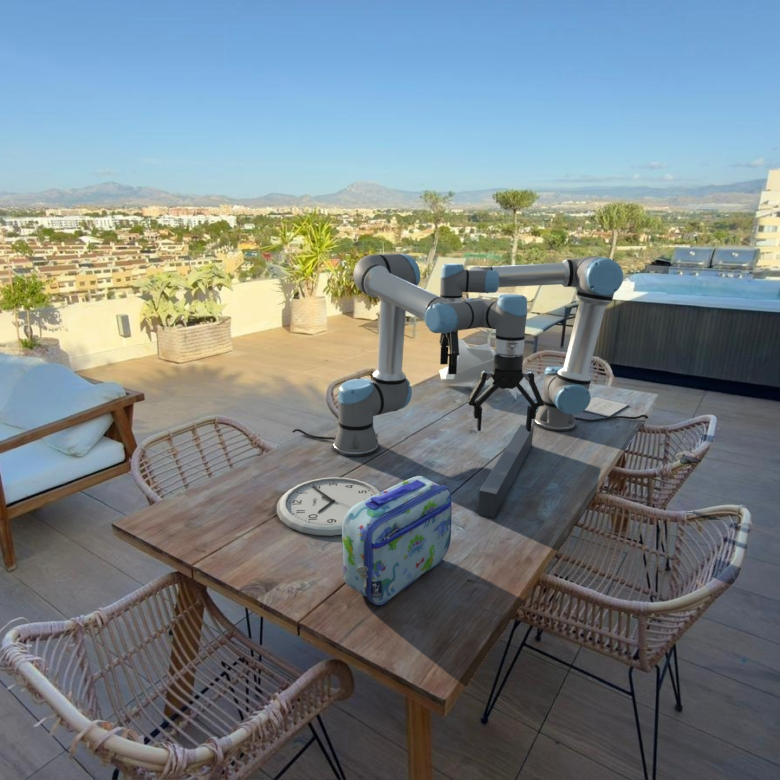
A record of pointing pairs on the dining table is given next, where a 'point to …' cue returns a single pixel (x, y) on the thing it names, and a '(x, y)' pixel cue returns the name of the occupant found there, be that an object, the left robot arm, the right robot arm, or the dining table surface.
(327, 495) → the wall clock
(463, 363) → the white plastic object
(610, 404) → the invitation card
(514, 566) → the dining table surface
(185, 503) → the dining table surface
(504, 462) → the plank
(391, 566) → the lunch box
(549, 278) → the right robot arm
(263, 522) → the dining table surface
